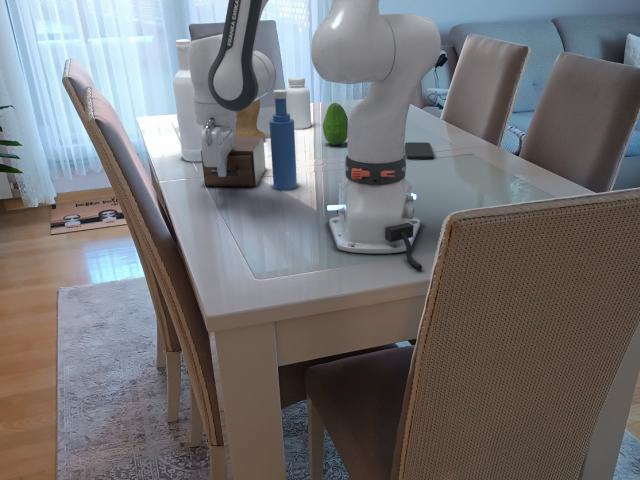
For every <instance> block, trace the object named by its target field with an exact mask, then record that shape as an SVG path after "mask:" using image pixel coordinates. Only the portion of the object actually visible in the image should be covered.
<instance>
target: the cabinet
mask: <svg viewBox="0 0 640 480" xmlns="http://www.w3.org/2000/svg"><path fill="white" fill-rule="evenodd" d="M264 144H265V141H264V138H263V136H236V141H235V146H234V147H233V148H232V150H231V151H230V153H229V154H250V155H251V162H252V175H253V184H252V185H249V184H206V181H205V173H204V165H203V158H202V161H201V164H202V172H203V181H204V187H245V188H251V187H252V188H253V187H254V188H255V187H257V186H258V184H259V182H260V180H261V179H262V176H263V175H264V173H265V171H266V156H265V145H264ZM201 157H202V150H201Z"/></svg>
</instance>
